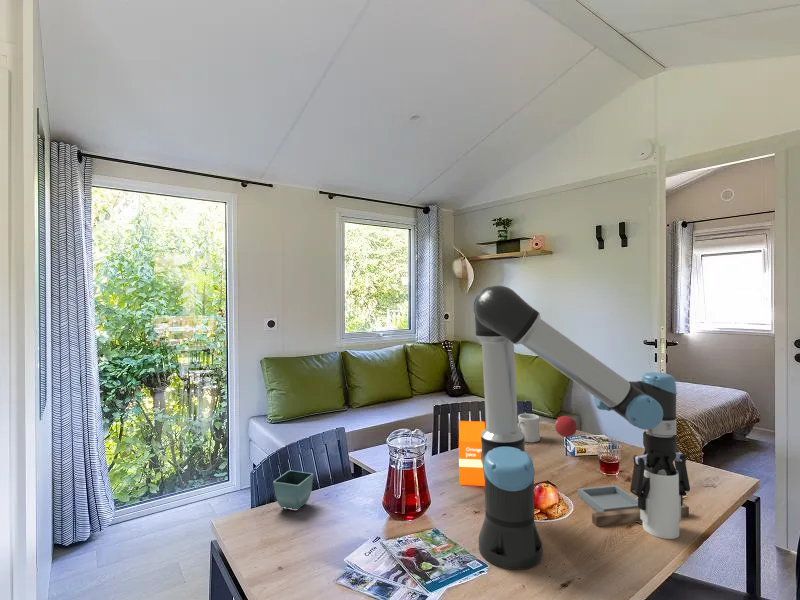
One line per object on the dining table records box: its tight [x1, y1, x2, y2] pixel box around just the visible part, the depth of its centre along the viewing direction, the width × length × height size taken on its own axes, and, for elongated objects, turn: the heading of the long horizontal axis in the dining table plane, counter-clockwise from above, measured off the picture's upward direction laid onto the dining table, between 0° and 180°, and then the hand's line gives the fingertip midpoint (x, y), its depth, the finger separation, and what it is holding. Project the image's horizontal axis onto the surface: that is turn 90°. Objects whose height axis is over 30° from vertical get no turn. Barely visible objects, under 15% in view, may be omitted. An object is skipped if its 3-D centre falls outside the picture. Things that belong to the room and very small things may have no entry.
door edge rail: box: [591, 503, 690, 527], centre depth 119 cm, size 28×2×2 cm, turn 99°
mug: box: [517, 413, 541, 443], centre depth 184 cm, size 12×9×10 cm
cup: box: [642, 467, 680, 540], centre depth 113 cm, size 8×8×16 cm
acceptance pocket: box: [576, 484, 639, 513], centre depth 128 cm, size 13×13×2 cm
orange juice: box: [458, 420, 486, 487], centre depth 146 cm, size 8×9×20 cm
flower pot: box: [272, 469, 314, 510], centre depth 130 cm, size 9×9×9 cm
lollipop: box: [554, 415, 578, 456], centre depth 166 cm, size 8×8×15 cm
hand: (660, 519), depth 113 cm, fingers closed on cup, 8 cm apart
